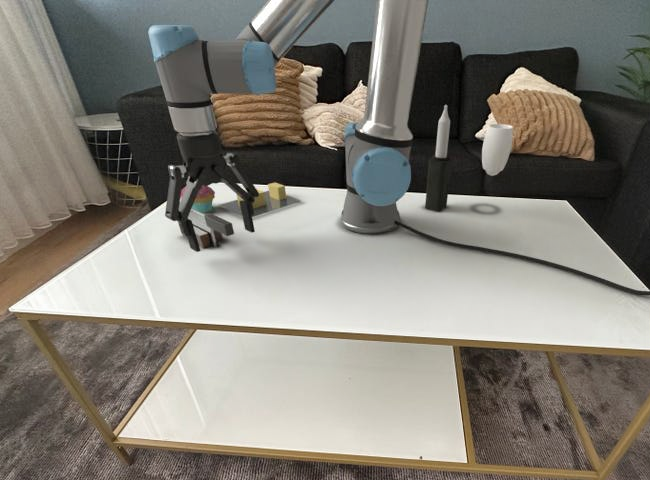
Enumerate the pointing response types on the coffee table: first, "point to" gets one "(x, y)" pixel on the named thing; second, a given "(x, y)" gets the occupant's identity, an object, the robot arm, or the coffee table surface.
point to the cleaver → (210, 224)
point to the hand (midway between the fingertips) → (224, 239)
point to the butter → (256, 199)
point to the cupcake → (203, 199)
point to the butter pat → (277, 191)
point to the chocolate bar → (205, 237)
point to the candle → (439, 168)
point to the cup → (496, 147)
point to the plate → (271, 205)
